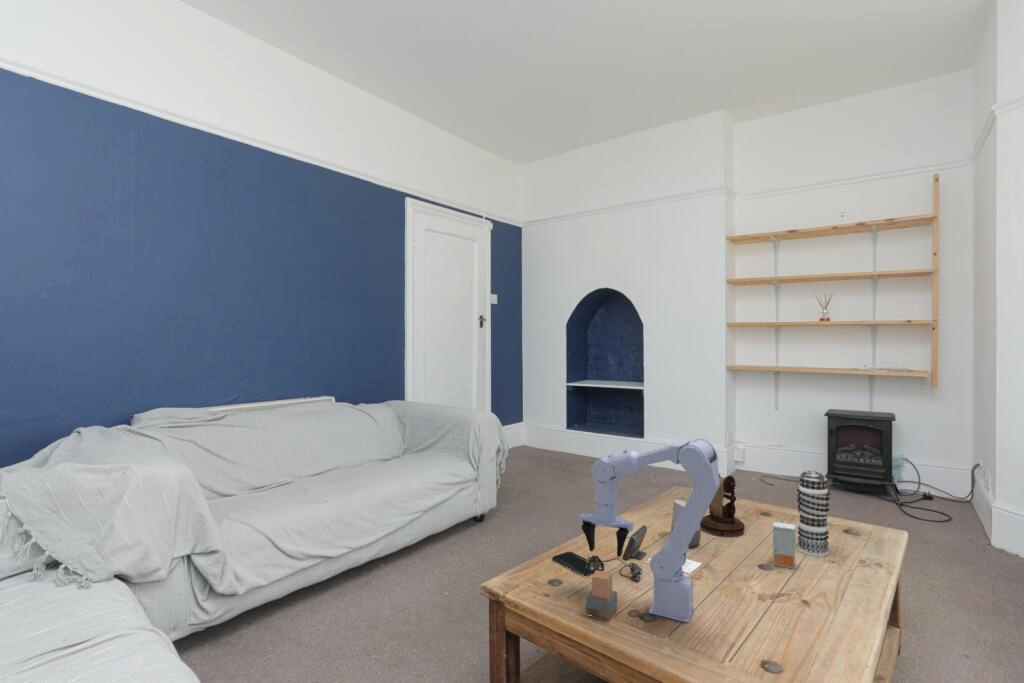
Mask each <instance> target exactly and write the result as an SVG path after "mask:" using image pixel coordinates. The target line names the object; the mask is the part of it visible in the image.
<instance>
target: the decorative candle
mask: <svg viewBox="0 0 1024 683" xmlns="http://www.w3.org/2000/svg"><path fill="white" fill-rule="evenodd" d="M798 477H799V486H798V487H799V488H797V489H796V492H798V493H797V494H796V497H797V498H796V500H797V501H796V502H797V503H798V504H797V512H798V514H799V521H798V527H797V530H798V531H797V532H798V533H797V535H798V537H797V541H798V542H797V545H798V546H797V547H798V550H799V552H801V553H803V554H806V555H809V556H813V557H814V556H816V557H824V555H826V556H828V555H829V541H828V540H829V535H828V534H829V530H828V519H827V518H829V514H828V512H830V509H829V508H828V507H830V504H829V502H828V501H831V498H830V497H829V496H831V493H830V491H829V490H828V478H827V477H825V475H824V474H823V473H822V472H820V471H815V470H804V471H803V472H801V474H799V475H798Z"/></svg>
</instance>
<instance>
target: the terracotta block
mask: <svg viewBox="0 0 1024 683" xmlns="http://www.w3.org/2000/svg"><path fill="white" fill-rule="evenodd" d="M591 590H592V597H595V598H600V599H606V600H609V598H610V596H611V594H612V591H613V572H610V571H605V570H602V571H599V570H596V571H595V572H594V573H593V575H591Z"/></svg>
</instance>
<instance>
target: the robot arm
mask: <svg viewBox="0 0 1024 683" xmlns="http://www.w3.org/2000/svg"><path fill="white" fill-rule="evenodd" d="M665 461H666V462H667V461H670V462H672V463H673V464H674V465H681V467H682V468H683V470H685V472H687V474H688V475H689V476H690V478H691V479H692V482H693V483H694V488H693V489H692V491H691V493H690V495H689V497H688V499H687V501H686V502H687V503H686V505H685V507H684V509H683V511H682V513H681V514H680V516H679V518H678V520H677V522H676V524H675V526H674V528H673V530H672V532H671V531H670V534H669V535H668V538H667V539H666V541H665V542H664V544H663V545H662V546H661V548H660V550H659V551H658V552H657V553H655V554H654V555H653V556H652V557H651V558H650V561H649V568H650V570H651V572H652V574H653V603H652V604H651V606H650V608H649V611H648V613H649V614H652V615H656V616H659V617H664V618H668V619H672V620H676V621H680V622H684V623H689V622H690V619H691V617H692V613H693V611H694V609H695V606H694V580H693V579H691V578H688V577H687V576H685V575H684V572H683V566H685V564H686V562H687V552H688V550H689V548H690V547H689V546H688V545H689V543H690V541H691V539H692V537H693V535H694V534H695V532H696V530H697V528H698V526H699V524H700V522H701V520H702V518H703V517H704V516H706V512H707V510H709V505H710V503H711V501H712V500H713V498H714V496H715V494H716V492H717V490H718V488H719V485H720V481H719V474H720V473H719V463H718V462H719V454H718V453H717V451H716V449H715V447H714V445H713V444H712V443H711V442H710V441H709V440H708V439H703V438H697V439H695V440H693V441H692V440H683V441H679V442H674V443H670V444H666V445H663V446H661V447H657V448H654V449H650V450H648V451H644V452H641V453H640V452H639V451H636V450H634V449H632V450H630V448H627V449H624V450H623V451H622V452H621V453H618V454H617V453H616V454H615V455H614V454H613V453H610V454H609V455H607V456H605V457H603V458H600V459H598V460H596V461H594V462H593V463H592V465H591V468H590V469H591V470H590V471H591V475H592V476H593V478H594V484H595V485H594V514H590V513H588V514H587V513H581V514H579V515H578V522H579V523H580V524H582V525H581V530H582V532H583V534H584V535H585V538H586V540H587V544H588V549H589V551H590V552H593V551H594V550H595V547H596V544H595V543H596V542H595V541H596V540H595V533H596V532H595V531H596V525H597V526H598V527H599V526H600V527H608V528H614V529H618V530H617V531H616V532H615V534H616V540H617V541H616V544H617V546H616V547H617V548H616V550H617V551H616V556H617V557H618V558H620V557H622V554H623V548H624V545H625V543H626V539H627V537H628V535H629V533H630V532H633V530H634V522H633V521H630V520H626V519H624V518H619V517H617V478H620V477H625V476H627V475H632V474H637V473H640V472H642V470H643V467H644V466H648V465H652V464H656V463H657V464H658V463H661V462H665Z"/></svg>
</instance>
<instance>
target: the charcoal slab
mask: <svg viewBox="0 0 1024 683" xmlns="http://www.w3.org/2000/svg"><path fill="white" fill-rule="evenodd" d="M585 600H586V605H585V608H586V607H588V608H592V609H596V610H600V611H604V612H609V613H610V612H611V610H612V609H613V607H614V606H615V604H616V602H618V591H616V590H615V591H614V590H612V594H611V596H610V598H609V600H606V599H600V598H595V597H592V589H591V590H590V592H589V593H588V594H587V596H586V599H585Z"/></svg>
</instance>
